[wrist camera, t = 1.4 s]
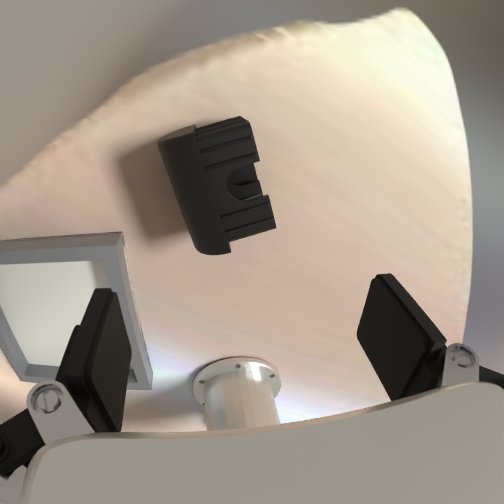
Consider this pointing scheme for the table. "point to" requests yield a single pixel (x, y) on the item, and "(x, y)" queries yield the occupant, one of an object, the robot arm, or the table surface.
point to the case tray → (62, 300)
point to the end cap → (217, 183)
